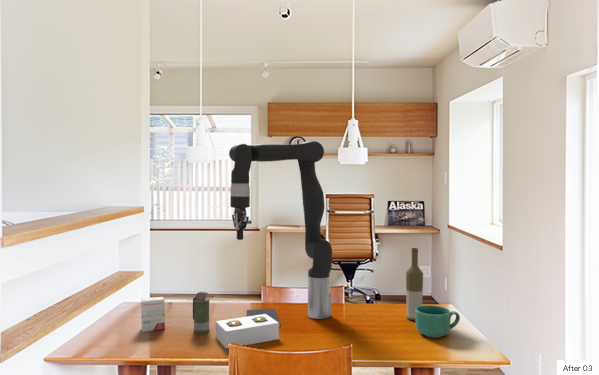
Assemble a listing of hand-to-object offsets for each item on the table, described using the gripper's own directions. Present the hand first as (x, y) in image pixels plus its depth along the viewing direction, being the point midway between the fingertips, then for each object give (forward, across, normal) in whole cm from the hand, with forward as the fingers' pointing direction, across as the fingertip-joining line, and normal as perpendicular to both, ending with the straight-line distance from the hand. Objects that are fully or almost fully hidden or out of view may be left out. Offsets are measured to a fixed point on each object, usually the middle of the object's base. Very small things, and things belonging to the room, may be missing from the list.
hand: (239, 239), depth 166 cm
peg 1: (+35, -11, +6) cm, 37 cm away
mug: (+35, -40, -65) cm, 84 cm away
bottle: (+35, -22, -70) cm, 81 cm away
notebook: (+36, +7, -13) cm, 39 cm away
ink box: (+35, +15, +30) cm, 49 cm away
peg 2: (+35, -11, -4) cm, 37 cm away
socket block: (+35, -11, +1) cm, 37 cm away
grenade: (+35, +4, +14) cm, 38 cm away
